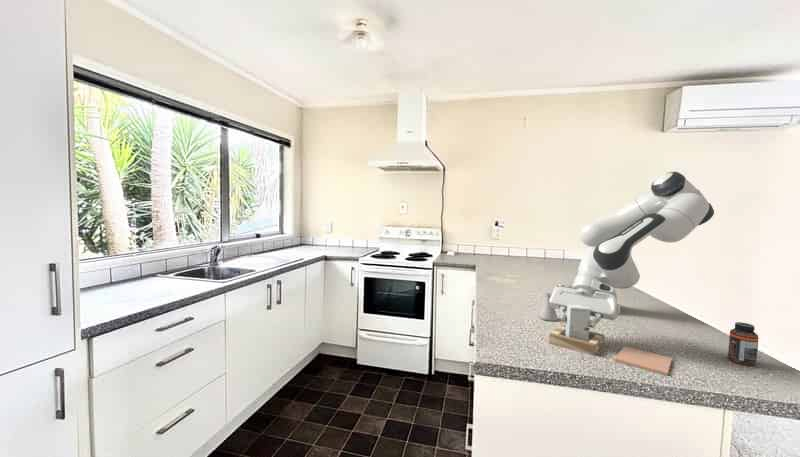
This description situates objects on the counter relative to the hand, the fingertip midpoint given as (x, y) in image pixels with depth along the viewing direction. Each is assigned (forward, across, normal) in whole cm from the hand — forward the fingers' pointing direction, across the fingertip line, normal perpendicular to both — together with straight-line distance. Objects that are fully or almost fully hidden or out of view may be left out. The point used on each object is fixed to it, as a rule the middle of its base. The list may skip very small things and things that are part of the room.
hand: (576, 323), depth 110 cm
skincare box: (+4, 0, +5) cm, 7 cm away
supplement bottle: (-10, +39, +20) cm, 45 cm away
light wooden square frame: (+4, 0, +5) cm, 7 cm away
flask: (-10, -16, +20) cm, 27 cm away
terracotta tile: (+4, +18, +5) cm, 19 cm away
